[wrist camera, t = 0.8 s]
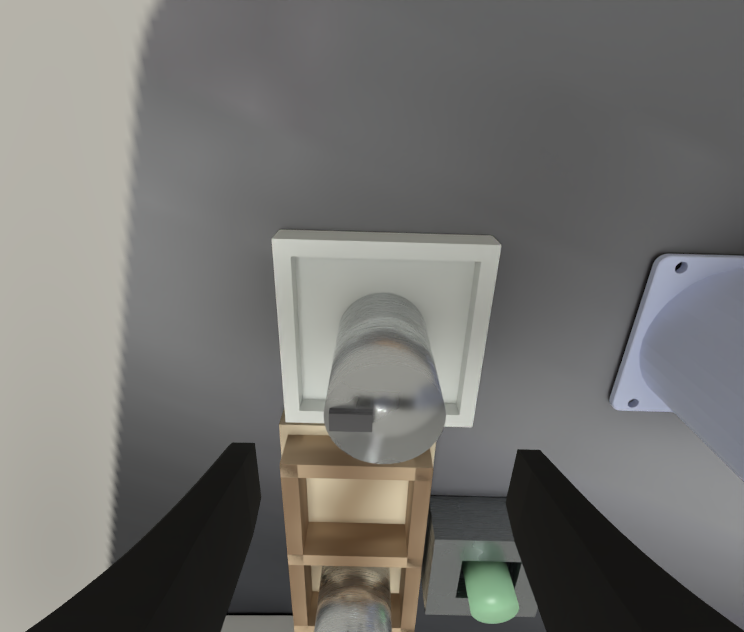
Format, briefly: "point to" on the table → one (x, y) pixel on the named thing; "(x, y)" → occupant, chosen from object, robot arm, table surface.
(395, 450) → the cylinder
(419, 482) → the wooden compartment tray
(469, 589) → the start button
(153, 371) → the table surface
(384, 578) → the cylinder
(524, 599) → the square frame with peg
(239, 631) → the milk carton
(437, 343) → the square tray
